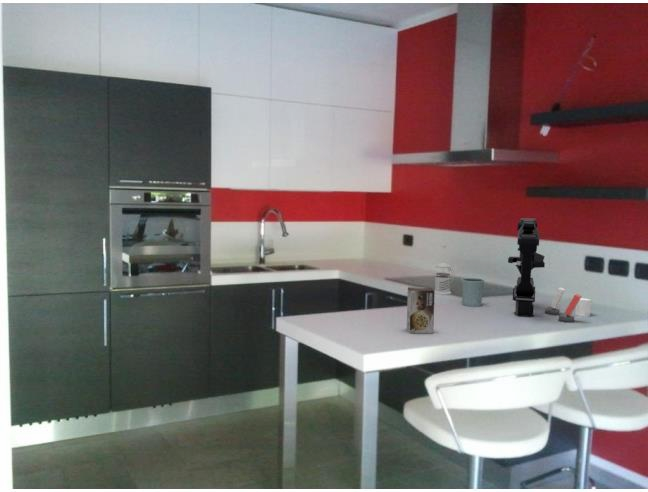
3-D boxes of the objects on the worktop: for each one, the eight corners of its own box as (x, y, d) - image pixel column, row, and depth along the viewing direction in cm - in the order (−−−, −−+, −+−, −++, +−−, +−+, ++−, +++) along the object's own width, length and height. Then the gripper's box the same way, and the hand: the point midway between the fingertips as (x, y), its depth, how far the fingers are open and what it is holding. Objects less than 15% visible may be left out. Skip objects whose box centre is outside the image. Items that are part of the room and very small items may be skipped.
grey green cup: (487, 306, 276) (488, 280, 275) (468, 307, 272) (469, 281, 271) (473, 302, 285) (475, 277, 284) (455, 303, 281) (457, 278, 280)
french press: (428, 291, 315) (430, 243, 313) (446, 290, 320) (449, 243, 318) (439, 294, 306) (442, 245, 304) (458, 293, 311) (460, 245, 309)
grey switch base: (543, 313, 262) (543, 305, 261) (547, 311, 267) (547, 303, 266) (557, 315, 258) (557, 307, 258) (561, 313, 263) (561, 305, 263)
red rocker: (562, 314, 246) (574, 294, 243) (565, 313, 250) (576, 293, 247) (567, 317, 245) (579, 297, 242) (570, 315, 249) (581, 296, 246)
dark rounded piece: (556, 321, 247) (557, 312, 247) (560, 318, 252) (561, 310, 252) (571, 323, 244) (572, 314, 243) (575, 320, 249) (576, 312, 248)
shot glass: (570, 313, 264) (571, 298, 263) (582, 313, 266) (583, 297, 265) (582, 316, 257) (583, 300, 257) (594, 316, 260) (595, 300, 259)
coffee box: (429, 329, 226) (431, 287, 225) (433, 333, 220) (435, 290, 218) (405, 329, 226) (407, 286, 225) (408, 333, 220) (410, 289, 218)
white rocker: (549, 308, 261) (558, 288, 258) (552, 306, 264) (561, 287, 262) (553, 310, 260) (562, 290, 257) (556, 308, 263) (565, 289, 261)
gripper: (556, 248, 261) (553, 283, 263) (528, 244, 279) (526, 277, 280) (534, 248, 258) (532, 284, 259) (508, 244, 275) (506, 278, 277)
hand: (524, 281), depth 269 cm, fingers closed
